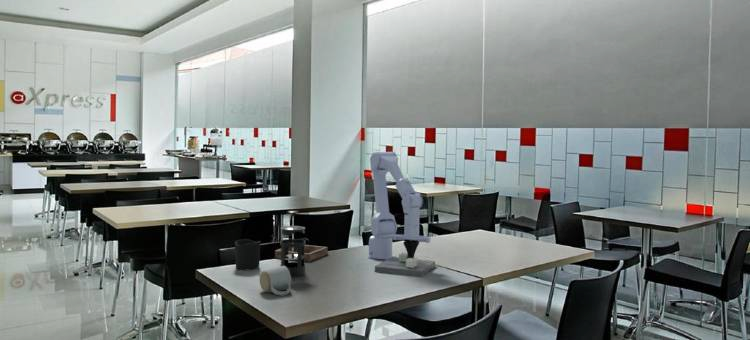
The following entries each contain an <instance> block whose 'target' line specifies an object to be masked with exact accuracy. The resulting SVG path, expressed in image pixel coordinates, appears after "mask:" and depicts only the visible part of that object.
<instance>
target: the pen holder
mask: <svg viewBox="0 0 750 340" xmlns="http://www.w3.org/2000/svg"><path fill="white" fill-rule="evenodd" d="M260 253H261V240H258V241H255V240H252V239H238V240H235V241H234V256H235V259H234V260H235V261H234V262H235V268H236V270H240V271H252V270H257V269H259V268H260V257H261V254H260Z"/></svg>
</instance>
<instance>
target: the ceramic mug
mask: <svg viewBox="0 0 750 340" xmlns="http://www.w3.org/2000/svg"><path fill="white" fill-rule="evenodd" d="M259 285H260V287H261V289H262V291H263V292H264V293H273V294H275V295H276V296H280V297H281V296H283V297H284V296H286V295H288V294H289V293H290V291H291V285H292V277H291V275H290V272H289V270H288V268H287V267H286V266H280V265H279V266H277V267H276V266H275V267H273V268H268V269H265V270H263V271H261V272H260V274H259Z"/></svg>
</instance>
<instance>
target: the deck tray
mask: <svg viewBox="0 0 750 340" xmlns="http://www.w3.org/2000/svg"><path fill="white" fill-rule="evenodd" d="M293 253H294V254H297V247H293ZM289 254H292V247H289ZM328 254H329V251H328V246H318V245H309V244H305V246H304V256H305V257H304V262H312V261H314V260H317V259H320V258H322V257H324V256H327V255H328ZM274 258H275V259H281V248H278V249H276V250H274Z"/></svg>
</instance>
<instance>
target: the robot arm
mask: <svg viewBox="0 0 750 340" xmlns="http://www.w3.org/2000/svg"><path fill="white" fill-rule="evenodd" d="M369 162H370V170H371V171H370V172H371V173H372V179H373V181H372V182H373V189H374V198H375V199H374V201H375V208H376V209H375V210H376V213H375V215H374V216H372V218H371V219H370V220H371V225H370V231H371V234H372V235H371V236H370V237H369V239H368V256H367V259H378V260H384V261H385V260H387V259H389V258H391V257H397V256H396V255H395V254H393V240H394V241H403V246H404V247H405V251H406V253H408V258H415V254H416V251H417V248H418V247H419V244H420V243H427V244H429V243H431V237H430V236H424V235H420V212H421V211H420V208H422V207H423V204H424V199H423V196H422V194H421V193H420V192H418V191H415V189H414V187H413V185H412V184H411V182H410V180H409V179H408V178H405V177H404V174H403V173H402V170H401V168H400V166H399V157H398V156H397V154H396V152H395V151H374V152H372V154H371V155H370V157H369ZM388 173H389V174H390V175H391V177H392V178H393V179H394V181H395V182H396V183H395V189H396V190H397V192H398V194H399V195H400V197H401V199H402V200H401V205H402V210H403V211H402V212H403V213H404V221H403V222H404V224H403V226H404V227H403V228H404V230H403V232H404V233H403V234H402V233H401V234H397V229H398V225H397V222H396V219H395V215H393V214H392V213H391V212H390V207H389V197H388V196H389V195H388V187H387V178H386V176H387V174H388Z"/></svg>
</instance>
